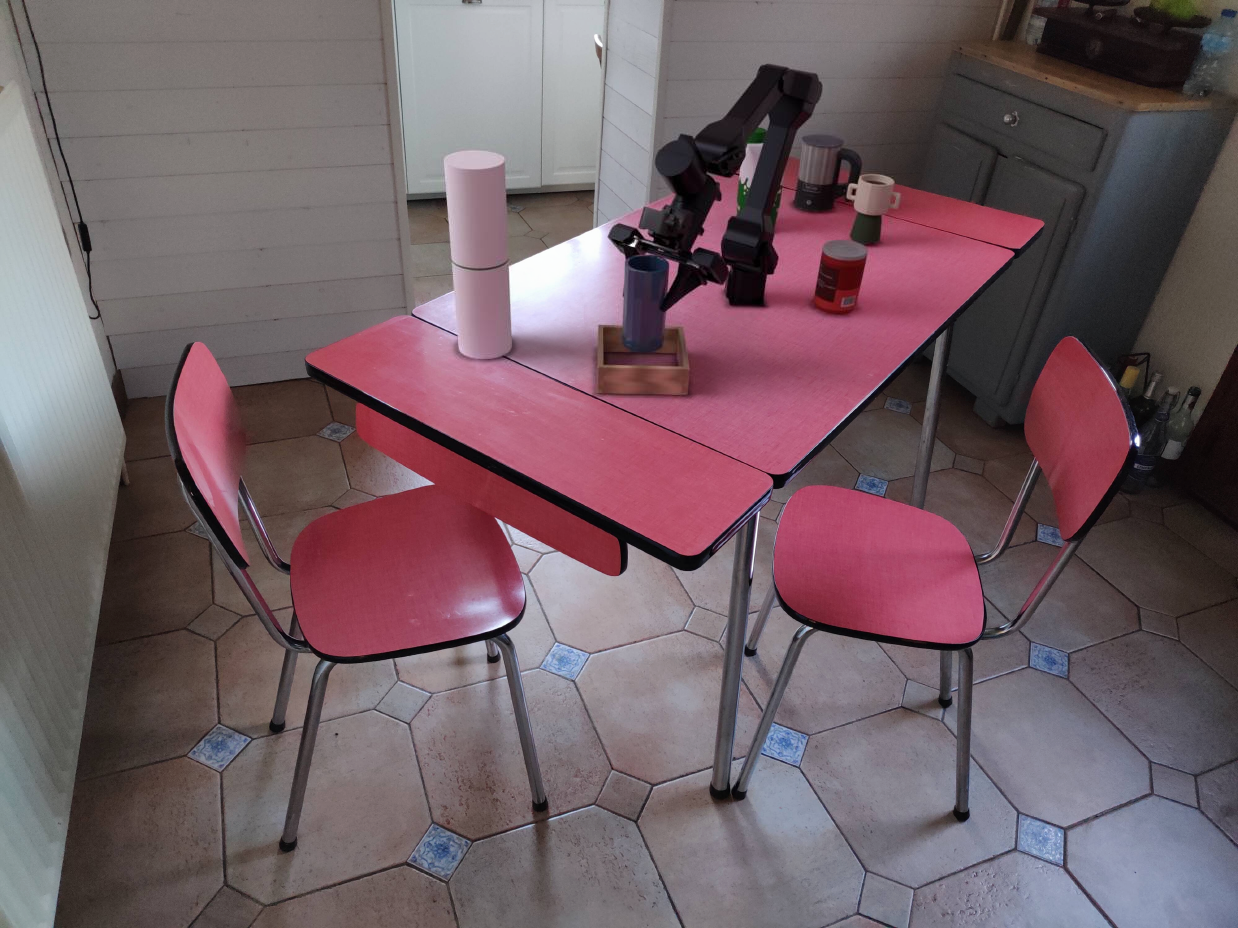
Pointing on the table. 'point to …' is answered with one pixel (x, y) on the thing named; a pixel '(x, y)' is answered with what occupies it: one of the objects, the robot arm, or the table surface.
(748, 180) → the milk carton
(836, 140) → the milk frother
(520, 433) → the table surface
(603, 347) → the crate
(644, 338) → the tumbler
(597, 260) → the table surface
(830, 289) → the canned food
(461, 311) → the container
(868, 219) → the character mug
